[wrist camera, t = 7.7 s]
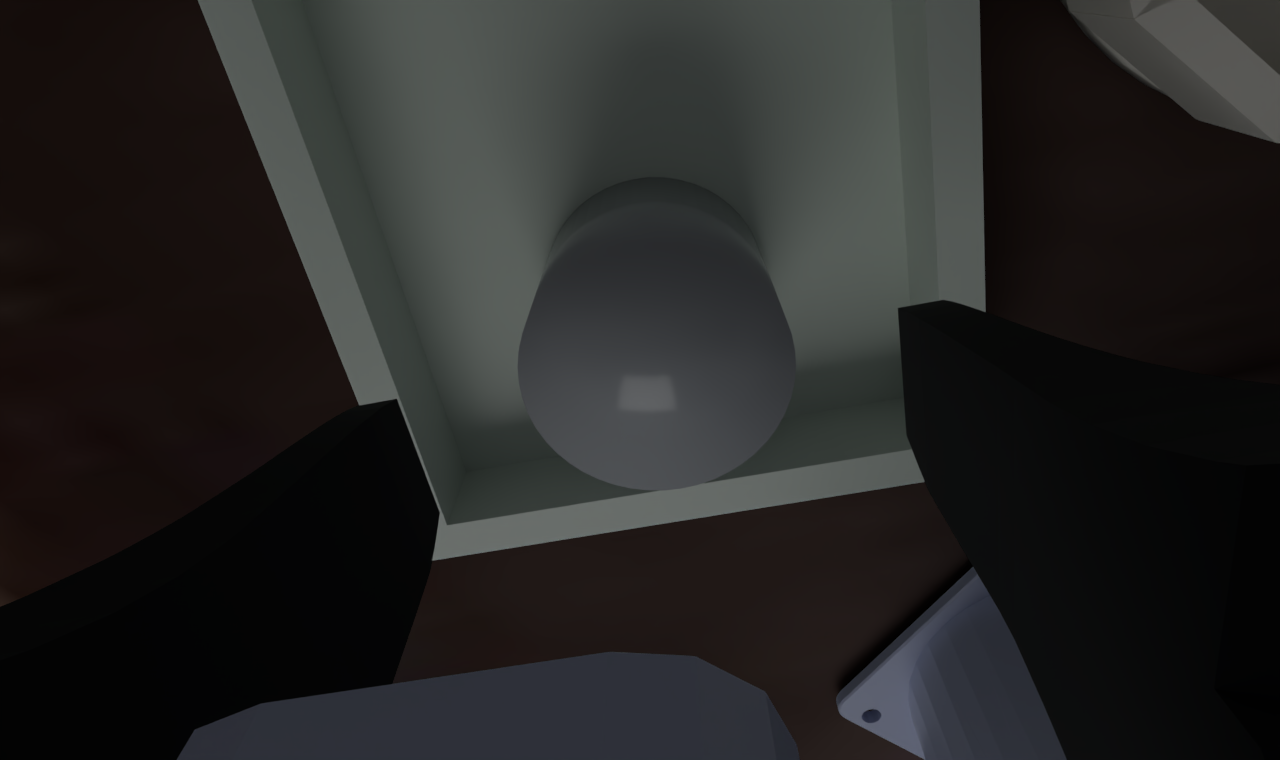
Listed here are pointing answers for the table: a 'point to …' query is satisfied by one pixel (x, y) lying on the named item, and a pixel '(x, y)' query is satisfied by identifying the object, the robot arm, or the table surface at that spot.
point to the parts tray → (588, 163)
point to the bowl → (1196, 54)
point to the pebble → (656, 339)
